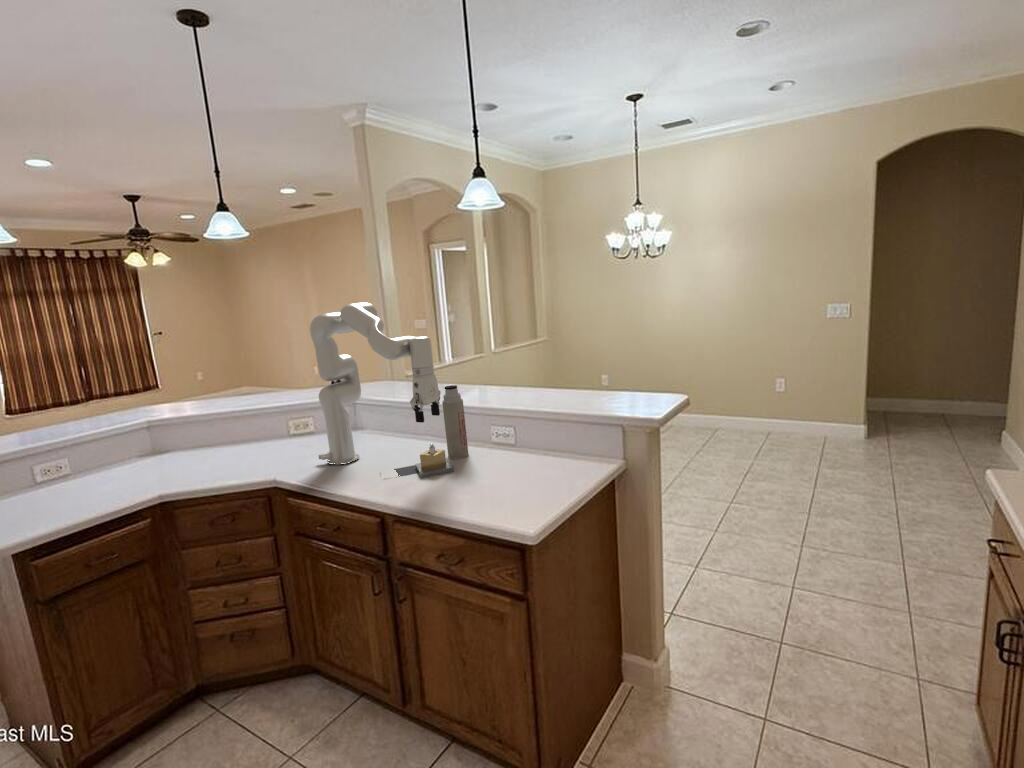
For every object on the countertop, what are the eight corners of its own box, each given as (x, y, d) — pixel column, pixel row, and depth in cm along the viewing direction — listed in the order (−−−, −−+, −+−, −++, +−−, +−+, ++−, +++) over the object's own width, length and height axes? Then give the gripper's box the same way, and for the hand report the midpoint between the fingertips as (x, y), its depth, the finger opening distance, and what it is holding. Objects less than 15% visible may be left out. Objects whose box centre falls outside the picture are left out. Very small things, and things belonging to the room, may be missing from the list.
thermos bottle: (472, 453, 210) (465, 384, 205) (458, 459, 204) (451, 388, 199) (457, 451, 215) (450, 383, 210) (444, 457, 209) (436, 387, 204)
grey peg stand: (421, 478, 186) (417, 451, 184) (415, 469, 197) (412, 443, 195) (454, 472, 190) (451, 445, 188) (447, 463, 201) (444, 437, 199)
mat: (381, 480, 188) (381, 480, 187) (379, 472, 197) (379, 471, 197) (421, 473, 192) (421, 472, 192) (416, 465, 201) (416, 464, 201)
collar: (421, 467, 192) (419, 454, 191) (431, 461, 197) (430, 449, 197) (436, 469, 189) (434, 455, 188) (446, 463, 195) (444, 450, 194)
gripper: (417, 376, 178) (422, 425, 181) (445, 367, 193) (450, 413, 196) (399, 376, 181) (405, 424, 184) (428, 367, 196) (433, 412, 199)
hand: (428, 418), depth 190 cm, fingers open, 9 cm apart
